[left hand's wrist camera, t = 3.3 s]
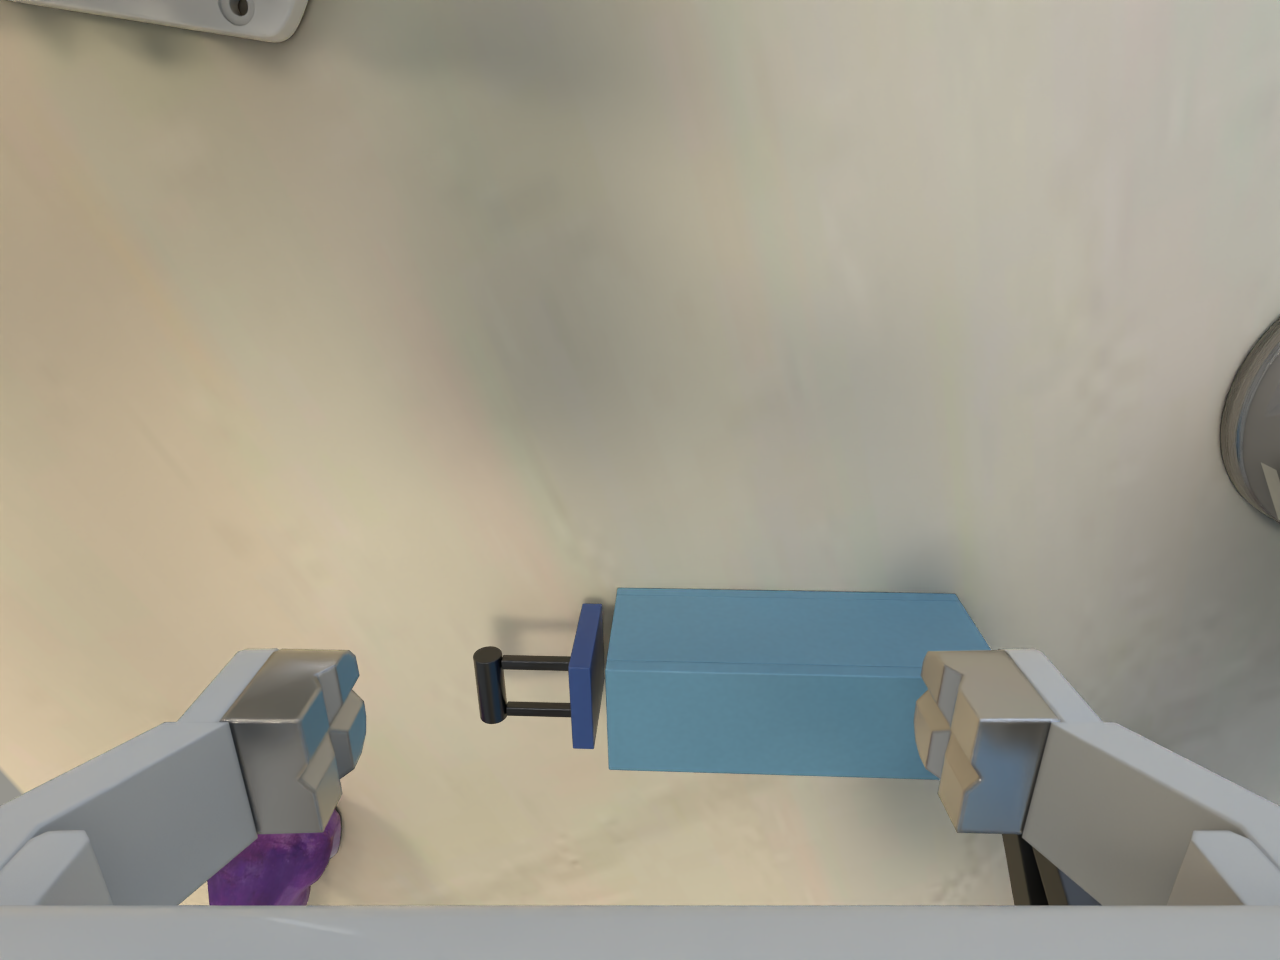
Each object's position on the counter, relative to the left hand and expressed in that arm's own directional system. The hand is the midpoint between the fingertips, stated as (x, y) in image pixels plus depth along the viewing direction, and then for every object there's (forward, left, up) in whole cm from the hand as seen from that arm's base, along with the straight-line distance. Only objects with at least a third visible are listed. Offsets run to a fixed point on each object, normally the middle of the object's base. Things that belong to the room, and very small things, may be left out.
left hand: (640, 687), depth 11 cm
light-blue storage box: (+6, -21, -31) cm, 38 cm away
